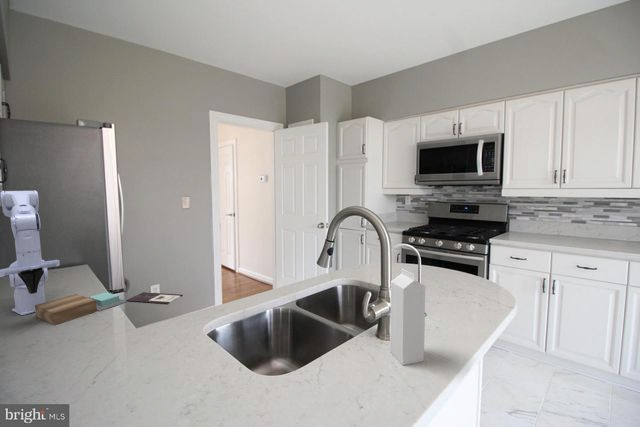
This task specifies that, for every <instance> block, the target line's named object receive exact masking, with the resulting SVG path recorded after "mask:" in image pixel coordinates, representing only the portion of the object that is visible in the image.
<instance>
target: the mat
mask: <svg viewBox="0 0 640 427" xmlns="http://www.w3.org/2000/svg"><path fill="white" fill-rule="evenodd" d="M126 303H129V302H128V301H125V300H124V299H121V298H119V301H117V302H114V303H111V304H108V305H105V306H99V305H97V311H96V312H102V311H105V310H106V311H107V310H108V309H111V308H115V307H118V306H120V305H123V304H126Z"/></svg>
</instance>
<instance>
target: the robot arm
mask: <svg viewBox="0 0 640 427" xmlns="http://www.w3.org/2000/svg"><path fill="white" fill-rule="evenodd" d="M39 201H40V200H39V192H38V191H37V190H35V189H34V190H1V191H0V202H1V208H2V213H3V214H4V216H5V217H8V218H10V226H11V227H10V228H11V232H12V233H13V238H14V247H15V254H16V255H15V256H16V260H15V261H14V262H12V263H11V264H10V265H9V266H8V267H5V268H1V269H0V278H4V277H6V276H8V277H9V286H10V287H11V288H15V289H14V290H13V291H14V292H13V298H14V300H13V301H14V308H12V309H11V311H12V312H15V313H16V314H18V315H21V316H25V315H28V314H31V313H32V314H33V313H36V312H35V305H37V304H41V303H45V302H46V296H45V295H46V294H45V283H46V282H48V281H49V273H48V268H54V267H59V266H60V265H61V264H60V263H61V262H60V260H59V259H54V260H44V259H43V258H42V249H41V248H42V246H41V239H40V238H41V237H40V231H41V227H42V226H41V219H40V215H39V213H38V212H39V206H40V202H39Z"/></svg>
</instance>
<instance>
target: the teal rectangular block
mask: <svg viewBox="0 0 640 427" xmlns="http://www.w3.org/2000/svg"><path fill="white" fill-rule="evenodd" d="M88 298H91V299H94V300H96V304H97V305H99V306H105V305H108V304H111V303H114V302H117V301H119V299H120V295H118V294H114V293H111V292H107V291H105V292H102V293H98V294H94V295H91V296H89V297H88Z"/></svg>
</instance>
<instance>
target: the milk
mask: <svg viewBox="0 0 640 427" xmlns="http://www.w3.org/2000/svg"><path fill="white" fill-rule="evenodd" d="M425 314H426V286H425V285H424V284H422V283H420V282H418V281H416V275H415V273H414V272H411V271H409V270H407V269H405V268H403V267H402V268H401V269H400V273H399V274H398V275H397V276H396V277H395V278H393V279H392V280H390V323H389V324H390V328H389V329H390V330H389V331H390V334H389V335H390V336H389V338H390V339H389V340H390V341H389V342H390V343H389V344H390V345H389V346H390V347H389V348H390V349H389V350H390V352H389V353H390V354H391V355H392V356H393V357H394V358H395V359H396V360H397V361H398V362H399V363H400V364H401V365H402V366H407V365H412V364H417V363H420V362H421V363H422V362H424V361H425V325H426V324H425V319H426V316H425Z"/></svg>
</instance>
